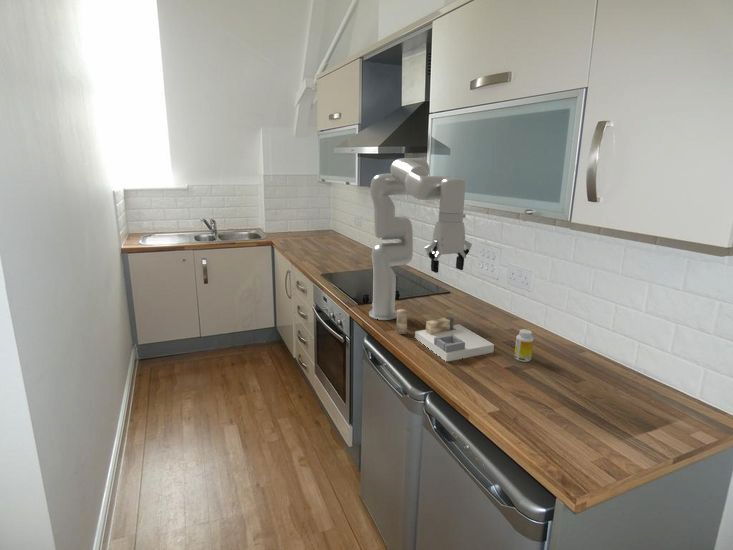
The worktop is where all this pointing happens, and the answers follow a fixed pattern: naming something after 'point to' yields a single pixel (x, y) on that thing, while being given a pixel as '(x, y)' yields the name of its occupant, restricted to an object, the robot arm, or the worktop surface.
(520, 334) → the supplement bottle
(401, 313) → the loose leg
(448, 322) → the beige angular block
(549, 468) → the worktop surface
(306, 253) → the worktop surface
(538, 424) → the worktop surface
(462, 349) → the white board with frame
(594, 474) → the worktop surface
